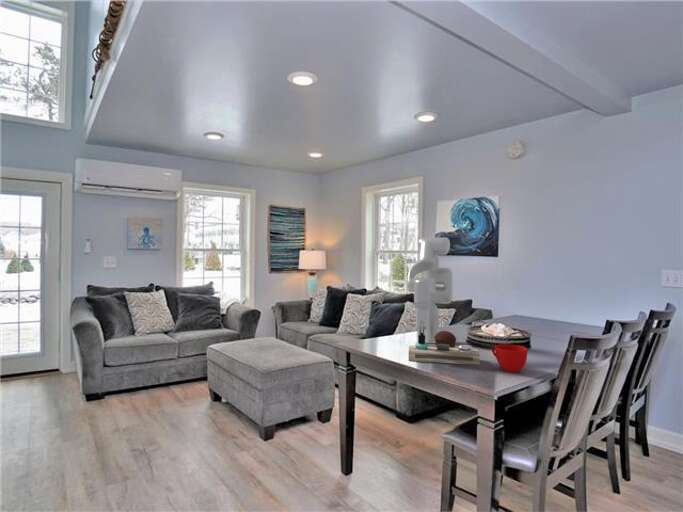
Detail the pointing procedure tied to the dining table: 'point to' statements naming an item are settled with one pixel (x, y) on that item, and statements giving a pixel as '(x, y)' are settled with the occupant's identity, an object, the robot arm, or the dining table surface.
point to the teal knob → (421, 346)
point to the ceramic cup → (510, 357)
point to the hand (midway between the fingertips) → (421, 343)
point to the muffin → (445, 338)
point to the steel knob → (464, 348)
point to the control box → (444, 356)
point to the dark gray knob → (443, 347)
